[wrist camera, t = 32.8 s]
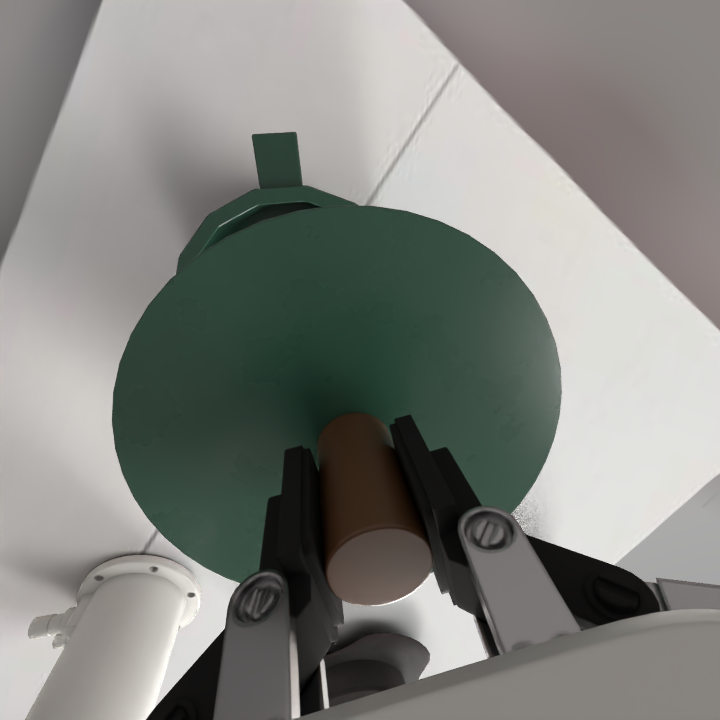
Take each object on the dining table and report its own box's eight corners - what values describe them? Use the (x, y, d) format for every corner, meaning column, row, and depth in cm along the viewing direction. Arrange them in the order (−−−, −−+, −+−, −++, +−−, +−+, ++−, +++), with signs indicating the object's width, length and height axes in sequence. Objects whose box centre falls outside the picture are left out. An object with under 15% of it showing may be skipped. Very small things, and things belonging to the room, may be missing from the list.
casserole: (353, 600, 48) (363, 676, 40) (454, 642, 54) (479, 714, 46) (246, 708, 53) (236, 793, 45) (348, 735, 59) (355, 813, 52)
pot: (236, 399, 35) (213, 462, 26) (182, 160, 27) (125, 138, 19) (388, 381, 37) (414, 434, 28) (377, 148, 29) (409, 123, 20)
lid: (188, 598, 16) (126, 803, 11) (56, 224, 11) (-236, 242, 5) (521, 542, 18) (620, 696, 12) (571, 189, 12) (808, 173, 6)
